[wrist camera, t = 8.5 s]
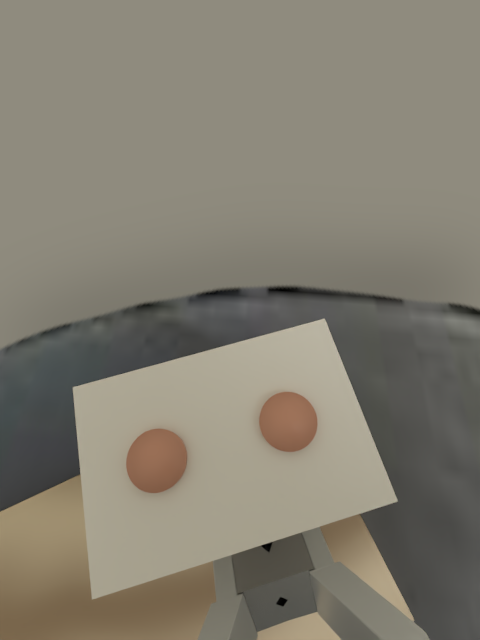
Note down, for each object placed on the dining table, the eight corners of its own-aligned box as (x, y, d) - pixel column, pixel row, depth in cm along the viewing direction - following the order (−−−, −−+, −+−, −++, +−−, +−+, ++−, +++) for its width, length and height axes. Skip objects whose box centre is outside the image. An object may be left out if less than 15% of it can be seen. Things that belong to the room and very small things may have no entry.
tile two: (318, 474, 14) (402, 502, 6) (178, 518, 14) (87, 604, 6) (286, 377, 16) (322, 305, 8) (159, 413, 15) (66, 374, 7)
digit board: (402, 608, 13) (414, 620, 12) (-338, 1050, 10) (-398, 1112, 9) (286, 380, 17) (289, 376, 16) (-293, 652, 13) (-334, 667, 12)
